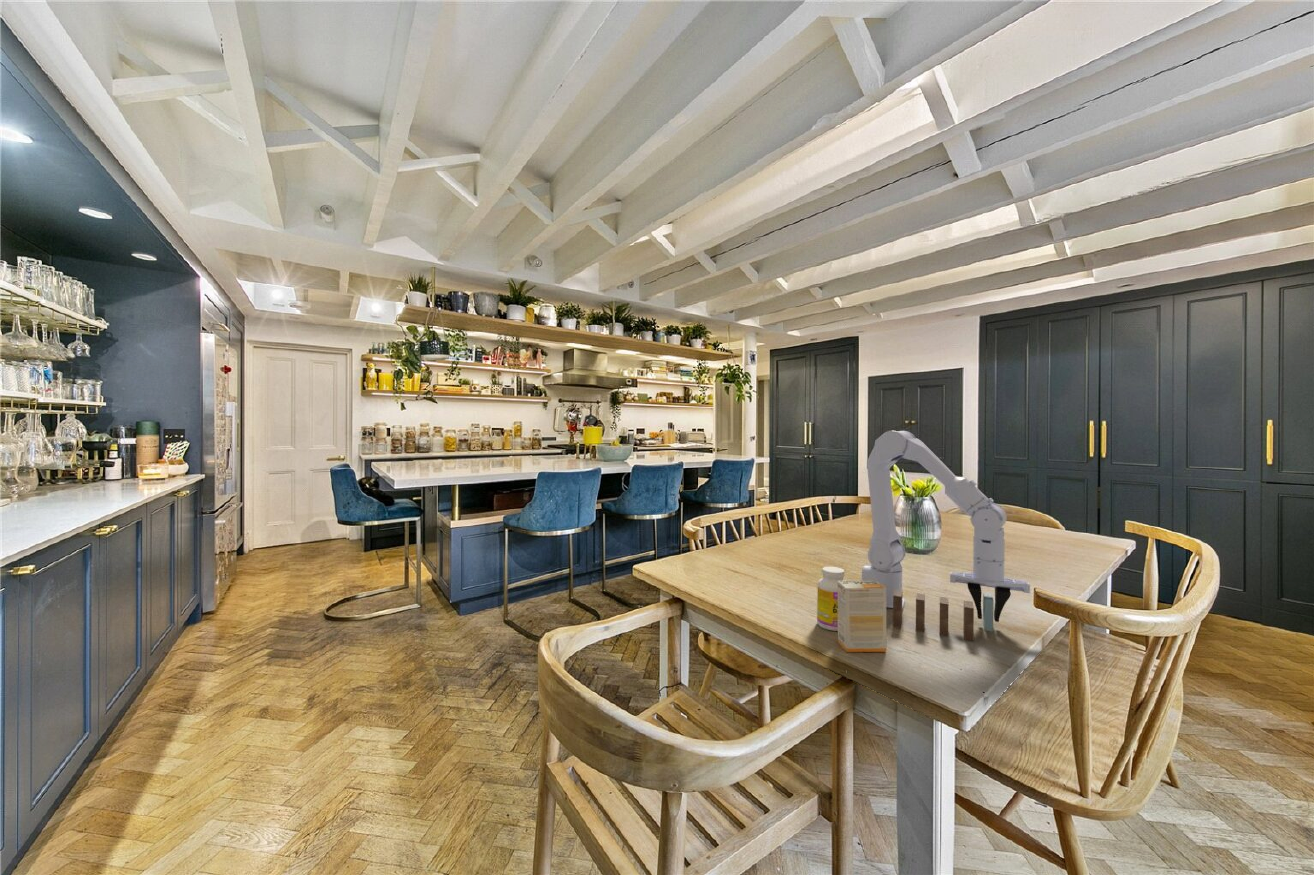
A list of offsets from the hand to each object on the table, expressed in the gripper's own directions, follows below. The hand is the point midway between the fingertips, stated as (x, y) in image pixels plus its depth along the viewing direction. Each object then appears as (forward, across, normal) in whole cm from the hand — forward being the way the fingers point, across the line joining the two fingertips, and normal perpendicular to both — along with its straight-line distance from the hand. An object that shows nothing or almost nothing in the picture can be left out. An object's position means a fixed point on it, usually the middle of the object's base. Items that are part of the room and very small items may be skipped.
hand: (987, 618), depth 106 cm
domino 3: (+2, -8, -8) cm, 12 cm away
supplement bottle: (+2, -30, -17) cm, 35 cm away
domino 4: (+2, -4, -8) cm, 9 cm away
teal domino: (+2, 0, 0) cm, 2 cm away
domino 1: (+2, -18, -8) cm, 19 cm away
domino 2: (+2, -13, -8) cm, 15 cm away
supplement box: (+2, -23, -25) cm, 34 cm away
